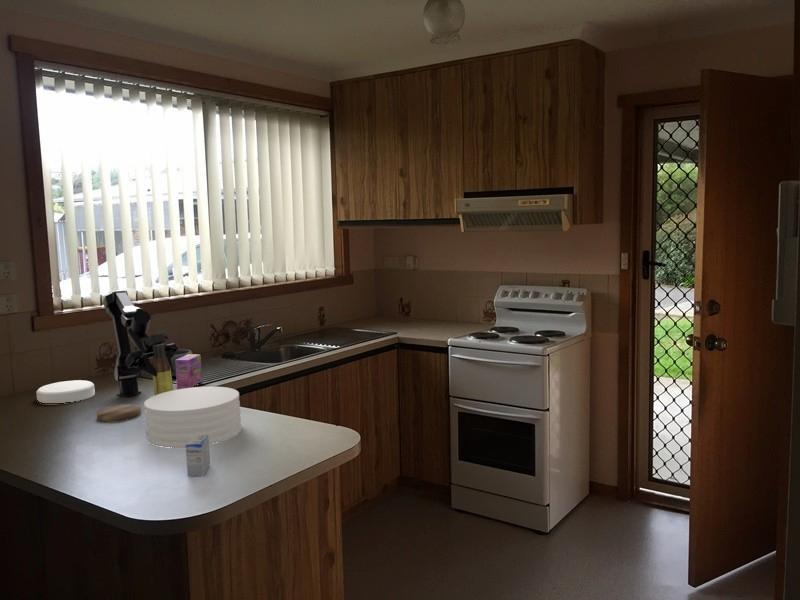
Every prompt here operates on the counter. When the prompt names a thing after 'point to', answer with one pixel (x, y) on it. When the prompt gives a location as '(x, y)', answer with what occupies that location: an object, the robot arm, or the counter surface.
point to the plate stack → (192, 415)
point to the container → (65, 391)
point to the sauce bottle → (161, 370)
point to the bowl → (176, 356)
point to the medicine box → (197, 455)
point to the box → (188, 371)
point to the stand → (119, 412)
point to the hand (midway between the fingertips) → (164, 373)
